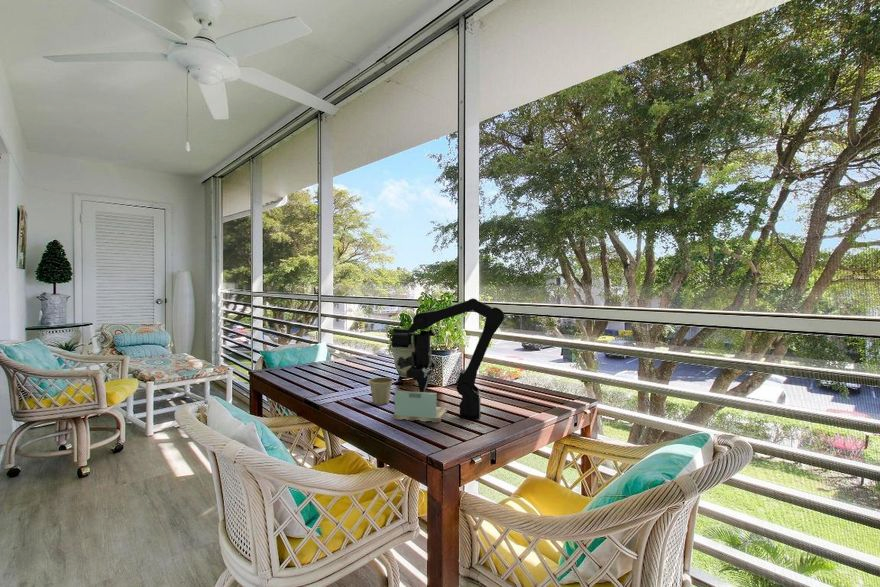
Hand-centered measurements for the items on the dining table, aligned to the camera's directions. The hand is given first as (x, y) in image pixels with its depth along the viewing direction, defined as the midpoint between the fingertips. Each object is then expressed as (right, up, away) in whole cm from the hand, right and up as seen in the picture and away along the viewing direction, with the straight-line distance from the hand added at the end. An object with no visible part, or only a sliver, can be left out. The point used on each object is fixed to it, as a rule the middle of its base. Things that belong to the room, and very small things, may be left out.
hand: (422, 392), depth 147 cm
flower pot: (-16, -7, +14) cm, 23 cm away
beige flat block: (0, -8, -1) cm, 8 cm away
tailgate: (-2, -6, -8) cm, 10 cm away
